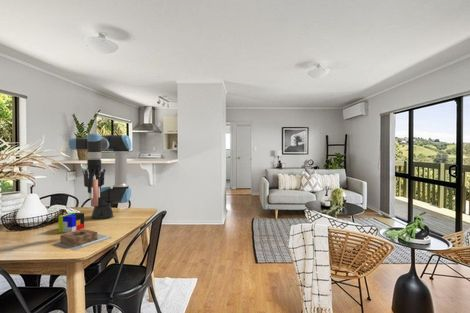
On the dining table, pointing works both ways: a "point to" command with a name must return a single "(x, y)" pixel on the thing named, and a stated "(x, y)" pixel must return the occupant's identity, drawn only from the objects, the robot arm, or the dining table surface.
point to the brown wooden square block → (78, 237)
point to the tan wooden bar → (95, 193)
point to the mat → (83, 244)
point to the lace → (94, 241)
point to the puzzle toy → (71, 222)
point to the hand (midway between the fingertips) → (94, 197)
